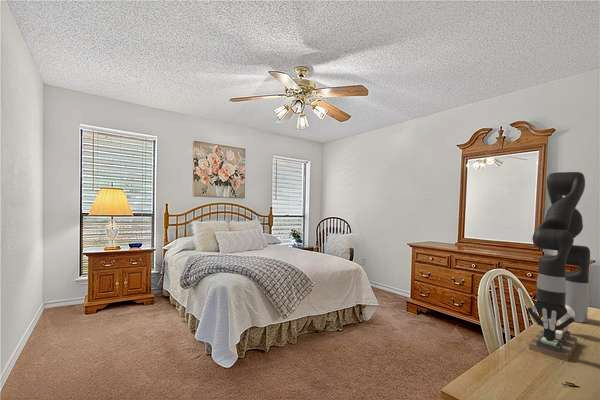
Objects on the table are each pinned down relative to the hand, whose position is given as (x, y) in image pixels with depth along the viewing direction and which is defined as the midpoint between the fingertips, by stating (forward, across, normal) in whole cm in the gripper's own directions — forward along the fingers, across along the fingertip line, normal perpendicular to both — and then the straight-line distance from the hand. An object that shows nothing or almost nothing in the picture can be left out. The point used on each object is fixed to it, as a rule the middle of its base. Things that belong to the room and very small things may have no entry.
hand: (549, 340), depth 102 cm
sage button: (+2, 0, 0) cm, 2 cm away
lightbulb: (+4, 0, -28) cm, 29 cm away
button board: (+4, 0, -8) cm, 9 cm away
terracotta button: (+1, 0, -16) cm, 16 cm away
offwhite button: (+1, 0, -8) cm, 8 cm away
